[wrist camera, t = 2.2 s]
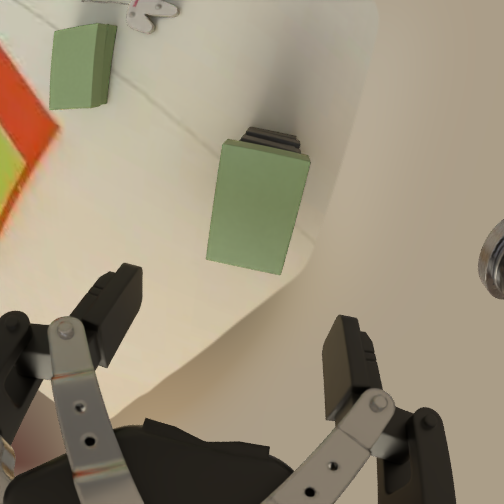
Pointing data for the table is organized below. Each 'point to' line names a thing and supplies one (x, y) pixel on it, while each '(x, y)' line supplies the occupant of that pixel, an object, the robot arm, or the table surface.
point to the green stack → (81, 66)
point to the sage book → (255, 205)
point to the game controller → (140, 6)
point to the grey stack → (271, 139)
